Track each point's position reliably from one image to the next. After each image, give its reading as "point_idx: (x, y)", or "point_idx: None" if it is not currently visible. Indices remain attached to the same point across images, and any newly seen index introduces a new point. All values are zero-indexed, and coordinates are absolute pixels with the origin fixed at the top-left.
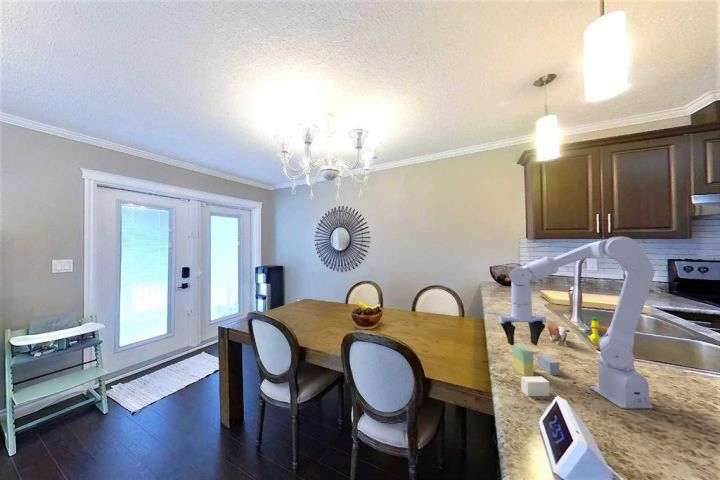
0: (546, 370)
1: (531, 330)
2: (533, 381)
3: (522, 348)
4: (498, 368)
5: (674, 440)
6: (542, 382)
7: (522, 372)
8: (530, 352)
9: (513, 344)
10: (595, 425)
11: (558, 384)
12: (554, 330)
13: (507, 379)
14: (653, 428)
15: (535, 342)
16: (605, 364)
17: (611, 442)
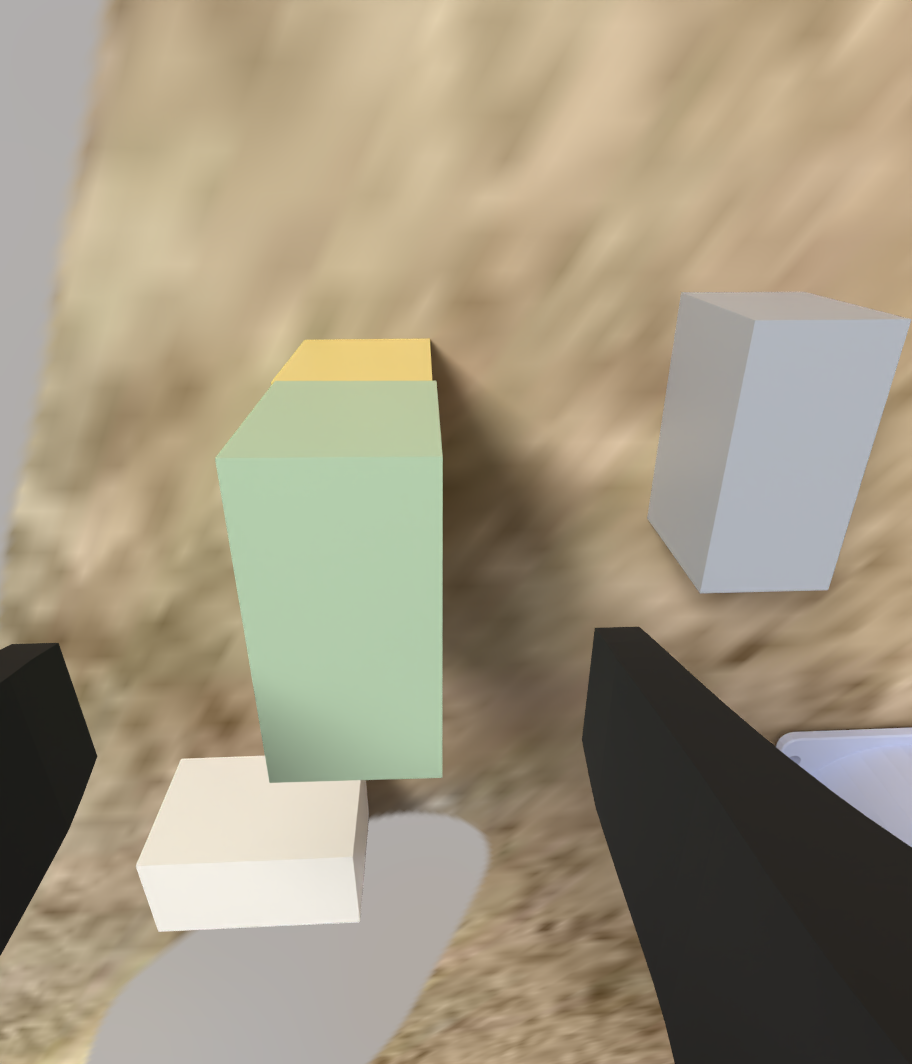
0: (661, 471)
1: (740, 940)
2: (219, 921)
3: (318, 681)
4: (84, 367)
5: None
6: (298, 922)
7: None
8: (396, 765)
9: (80, 779)
10: (438, 994)
11: (571, 680)
12: None
13: (116, 612)
14: None
15: (595, 801)
16: None
17: (414, 1057)
